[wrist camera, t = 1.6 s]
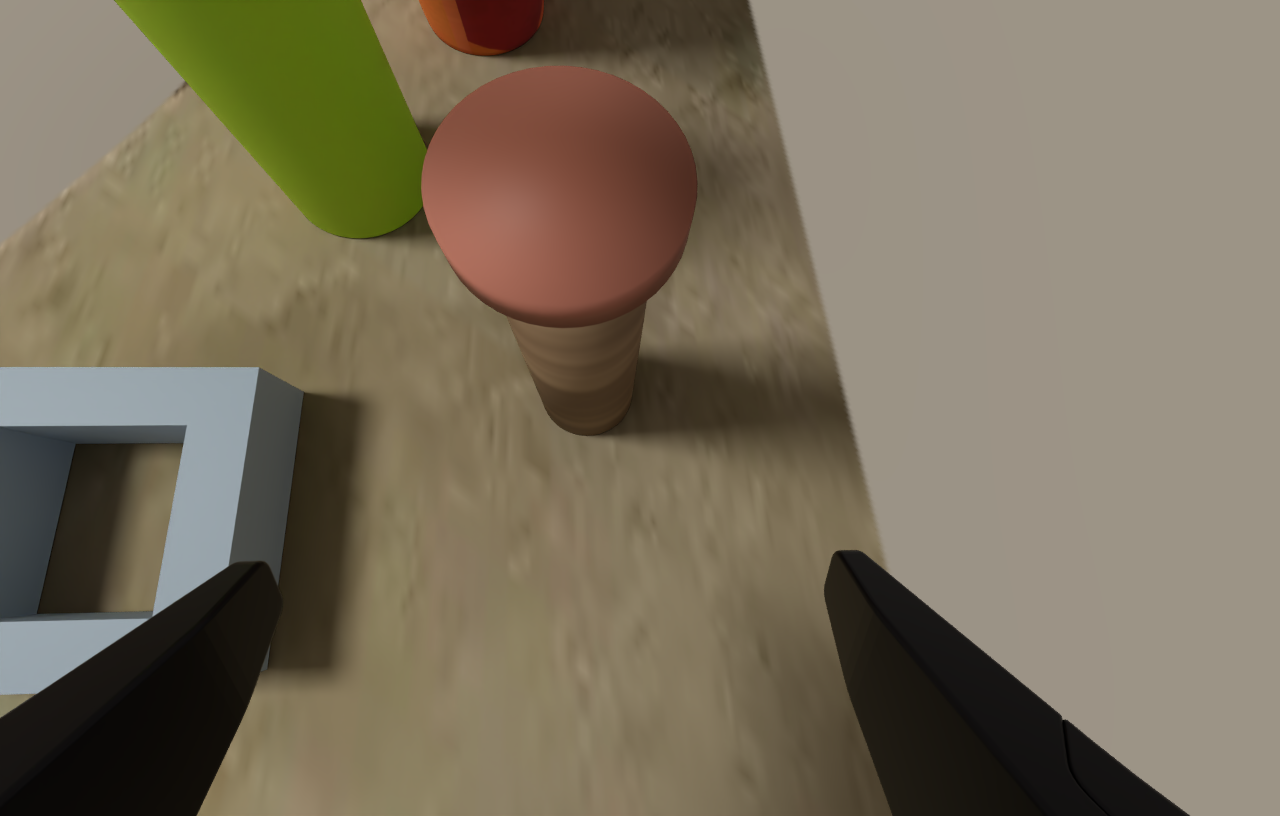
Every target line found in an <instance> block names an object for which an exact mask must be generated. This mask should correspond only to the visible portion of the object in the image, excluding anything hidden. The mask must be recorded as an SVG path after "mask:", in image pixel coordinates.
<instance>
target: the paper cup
mask: <svg viewBox="0 0 1280 816" xmlns="http://www.w3.org/2000/svg"><path fill="white" fill-rule="evenodd" d="M419 2H420V4H421V7H422V9H423V11H424V13H425V15H426V18H427V20H428V22H429V24H430V26H431V27H432V29H433V31H434V32H435V34H436V35H437V36H438V37H439V38H440V39H441V40H442V41H443V42H444V43H446V44H447V45H449V46H450V47H452V48H454V49H456V50H459V51H461V52H464V53H468V54H472V55H481V56H488V55H498V54H502V53H506V52H509V51H512V50H514V49H516V48H518V47H520V46H522V45H523V44H525V43H526V42H527V41H528V40H529V39H531V38H532V36H533V35H534V34H535V33H536V31H537V30H538V28H539V26H540V24H541V21H542V18H543V11H544V0H419Z"/></svg>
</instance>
